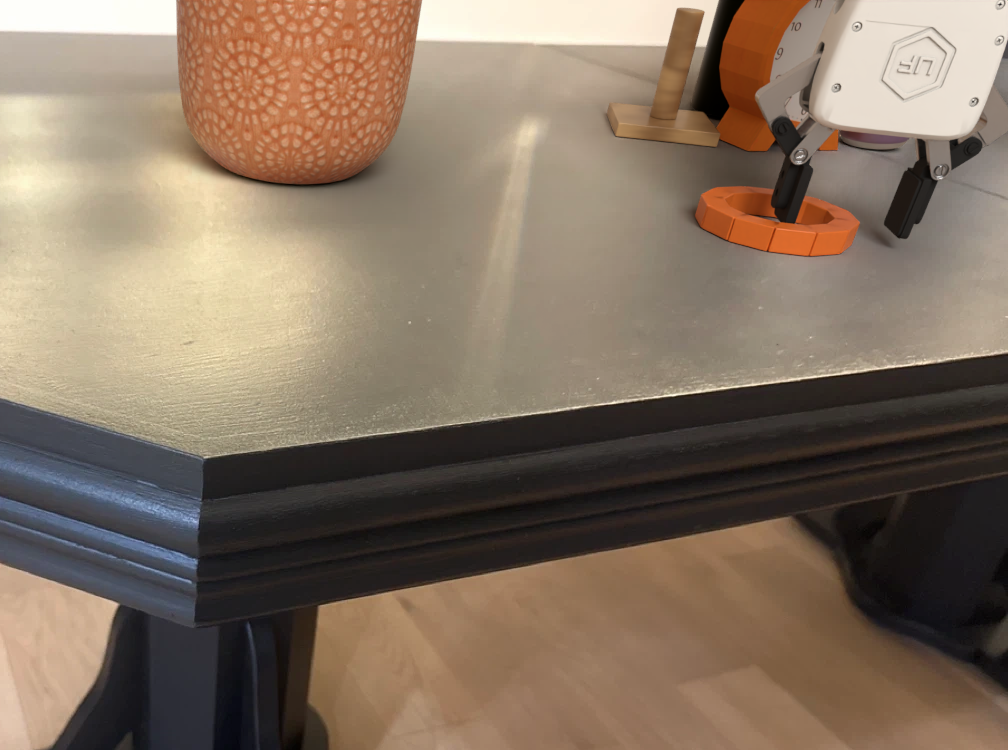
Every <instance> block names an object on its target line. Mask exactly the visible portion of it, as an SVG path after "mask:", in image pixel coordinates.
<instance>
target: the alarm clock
mask: <svg viewBox="0 0 1008 750" xmlns="http://www.w3.org/2000/svg"><path fill="white" fill-rule="evenodd" d="M835 2H836V0H745V1H744V2H743V4H742V5H741V7H740V8H739V10H738V11H737V13H736V14H735V16H734V17H733V20H732V22H731V25H730V27H729V30H728V32H727V35H726V37H725V39H724V42H723V48H722V54H721V60H720V66H719V69H720V79H721V88H722V91H723V93H724V95H725V97H726V99H727V101H728V103H729V106H730V107H729V109H728V110H727V112H726V113H725V115H724V116H723V118H722V117H721V119H720V121H719V122H718V124H717V126H715V127H716V129H717V130H718V131H719V132H720V137H719V140H721V141H723V142H726V143H728V144H730V145H733V146H735V147H737V148H739V149H742V150H744V151H747V152H767V151H769V149H770V148H771V146H772V145H773V144H774V143H775V141H776V139H775V138H774V136H773V134H772V133H771V131H770V129H769V127H768V124H767V122H766V120H765V118H764V116H763V114H762V112H761V110H760V108H759V106H758V104H757V102H756V100H755V94H756V92H757V91H758V90H759V89H760V88H762V87H763V86H765V85H767V84H768V83H770V82H771V81H773V80H775V79H776V78H778V77H779V76H781V75H783V74H784V73H786V72H788V71H789V70H791V69H792V68H794V67H796V66H797V65H799V64H800V63H802V62H804V61H805V60H807V59H808V58H810V57H812V55H813V53H814V50H815V48H816V45H817V43H818V40H819V38H820V36H821V33H822V31H823V28H824V26H825V24H826V21H827V19H828V17H829V15H830V12H831V10H832V8H833V6H834V4H835ZM800 91H801V90H800ZM800 91H799V92H797V93H795V94H794V95H792V96H791V97H789V98H788V99H787V100H786V102H785V109H786V111H787V114H788V116H789V118H790V120H791V121H792V123H793V125H794V126H795V128H796V127H797V126H798V125H799V124H800V122H801V121H802V120H803V119H804V118H805V117H806V116H807V114H808V112H806V111H805V110H803V109H802V108H801V106H800V104H799V96H800ZM838 150H839V130H837V129H836V130H835V131H834V132H833V133H832V134H831V135H830V136H829V137H828V138H827V140H826V141H825V142H824V143H823V144H822V145H821V146H820V147H819V148H818V150H817V151H838Z"/></svg>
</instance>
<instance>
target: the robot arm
mask: <svg viewBox="0 0 1008 750" xmlns="http://www.w3.org/2000/svg"><path fill="white" fill-rule="evenodd" d="M1007 43H1008V0H836V2H835V4H834V6H833V8H832V10H831V12H830V15H829V17H828V19H827V21H826V24H825V26H824V28H823V31H822V33H821V36H820V38H819V40H818V43H817V45H816V48H815V50H814V53H813V55H812V57H810V58H808V59H807V60H805V61H804V62H802V63H800V64H799V65H797V66H796V67H794V68H792V69H791V70H789V71H788V72H786V73H784V74H783V75H781V76H779V77H778V78H776V79H775V80H773V81H771V82H770V83H768V84H767V85H765V86H763V87H762V88H760V89H759V90H758V91H757V92H756V94H755V100H756V102H757V104H758V106H759V108H760V110H761V112H762V114H763V116H764V118H765V120H766V122H767V124H768V127H769V129H770V131H771V133H772V134H773V136H774V138H775V139H776V140H775V141H776V143H777V144H778V146H779V148H780V149H781V152H782V153H783V154H784V159H783V162H782V165H781V168H780V170H779V174H778V178H777V179H776V183H775V185H774V188H773V189H774V192H773V195H772V198H771V206H772V207H773V208H775V210H774V214H775V216H776V217H777V218H776V219H778V222H783V223H792V224H796V223H795V222H796V219H797V217H798V214H799V211H800V208H801V205H802V202H803V199H804V197H805V196H806V193H807V191H808V187H809V186H810V182H811V180H812V177H813V174H814V168H813V166H812V165H810V164H811V160H812V158H813V155H815V153H816V152H817V151H819V150H818V148H819V147H820V146H821V145H822V144H823V143H824V142H825V141H826V140H827V138H828V137H829V136H830V135H831V134H832V133H833V132H834V131H835V130H836V129H837V130H838V131H840V130H844V131H852V132H861V133H870V134H879V135H889V136H898V137H908V138H909V139H914V148H915V157H916V161H915V162H914V165H913V167H909V166H908V167H907V169H906V170H905V171H903V172H902V176H901V178H900V181H899V183H898V186H897V188H896V191H895V193H894V195H893V198H892V201H891V203H890V206H889V208H888V210H887V213H886V216H885V218H884V220H883V225H884V227H885V228H887V230H889V231H890V232H891V233H892V234H893V235H894V236H895V237H896V238H897V239H900V240H901V239H902V240H907V239H909V237H910V235H911V232H912V231H913V228H914V225H919V224H920V223H921V222H922V220H923V217H924V215H925V213H926V210H927V208H928V206H929V203H930V201H931V200H932V197H933V194H934V192H935V189H936V186H937V185H938V182H939V181H943V180H945V179H947V178H948V177H949V176H950V174H951V173H952V171H953V170H954V169H956V168H958V167H959V166H961V165H963V164H964V163H966V162H968V161H970V160H971V159H972V158H975V157H976V156H978V155H979V154H980V152H981V151H982V150H983V148H985V147H987V146H989V145H991V144H992V143H994V142H995V141H997V140H998V139H1000V138H1001V137H1003V136H1004V135H1006V134H1007V133H1008V105H1007V103H1006V102H1005V100H1004V98H1003V97H1002V96H1001V94H1000V92H999V91H998V89H997V87H996V86H995V84H994V82H995V79H996V76H997V74H998V71H999V68H1000V64H1001V62H1002V59H1003V56H1004V52H1005V50H1006V46H1007ZM800 90H801V91H800ZM799 91H800V96H799V104H800V106H801V108H802V109H803V110H805V111H806V112H808V114H807V116H806V117H805V118H804V119H803V120H802V121H801V122H800V124H799V125H798V126H797V127H796V128H795V126H794V125H793V123H792V121H791V120H790V118H789V116H788V114H787V111H786V109H785V102H786V100H787V99H788V98H789V97H791V96H792V95H794V94H795V93H797V92H799Z"/></svg>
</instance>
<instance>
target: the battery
mask: <svg viewBox="0 0 1008 750" xmlns="http://www.w3.org/2000/svg"><path fill="white" fill-rule="evenodd" d="M744 1H745V0H718V1H717V5H716V9H715V12H714V16H713V20H712V23H711V27H710V29H709V34H708V38H707V42H706V45H705V49H704V53H703V55H702V56H703V57H702V60H701V63H700V67H699V71H698V75H697V78H696V82H695V86H694V88H693V93H692V97H691V100H690V108H692V110H693V111H698V112H704V113H705V115H709V116H714V117H717V118H721V119H722V118H723V116H724V115H725V113H726V112H727V110H728V109H729V107H730V106H729V103H728V101H727V99H726V97H725V95H724V93H723V91H722V88H721V79H720V69H719V66H720V60H721V54H722V48H723V42H724V39H725V37H726V35H727V32H728V30H729V27H730V25H731V22H732V20H733V17H734V16H735V14H736V13H737V11H738V10H739V8H740V7H741V5H742V4H743V2H744Z"/></svg>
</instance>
